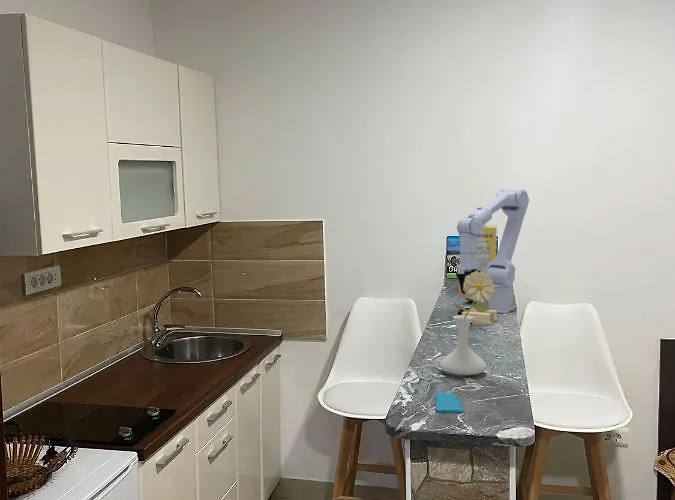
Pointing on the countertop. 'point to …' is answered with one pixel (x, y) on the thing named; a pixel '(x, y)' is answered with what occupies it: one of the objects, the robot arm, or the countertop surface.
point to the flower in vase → (463, 356)
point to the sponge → (447, 403)
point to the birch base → (482, 316)
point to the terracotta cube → (461, 292)
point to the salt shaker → (469, 301)
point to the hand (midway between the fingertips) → (468, 292)
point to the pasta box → (486, 246)
